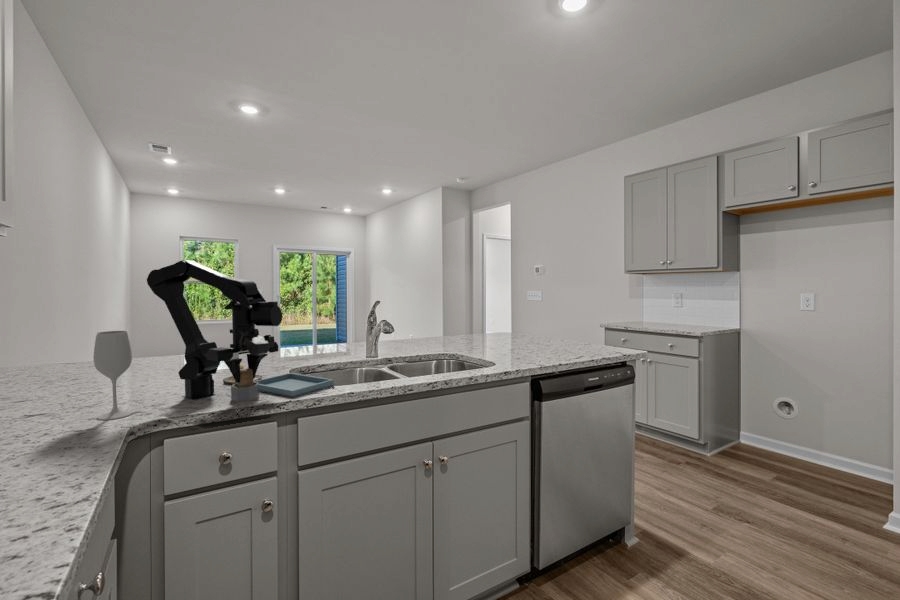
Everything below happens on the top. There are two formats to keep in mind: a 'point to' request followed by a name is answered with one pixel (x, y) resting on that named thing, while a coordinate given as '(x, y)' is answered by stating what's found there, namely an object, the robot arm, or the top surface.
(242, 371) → the peg
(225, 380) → the burger
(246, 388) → the cup
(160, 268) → the robot arm
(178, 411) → the top surface
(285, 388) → the tray
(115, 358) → the wineglass
